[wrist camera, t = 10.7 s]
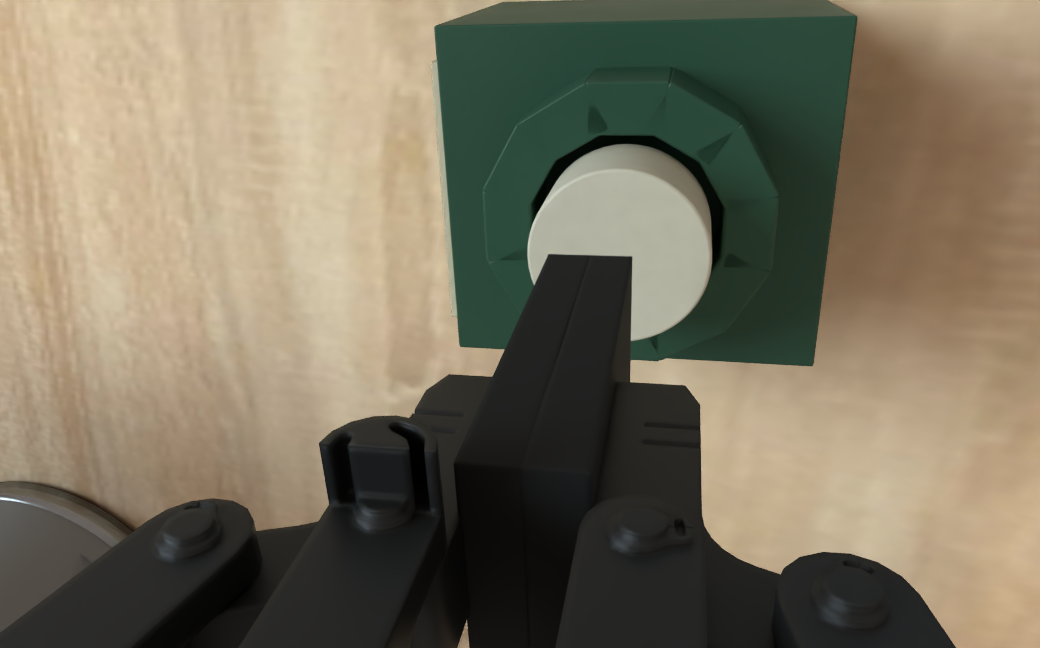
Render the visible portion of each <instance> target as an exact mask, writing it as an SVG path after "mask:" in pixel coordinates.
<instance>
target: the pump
mask: <svg viewBox="0 0 1040 648" xmlns="http://www.w3.org/2000/svg"><path fill="white" fill-rule="evenodd" d="M548 254H565V255H599V256H632V304H631V341H635V340H641V339H645V338H649V337H652V336H655V335H657V334H660V333H662V332H664V331H666V330H668V329H670V328H672V327H673V326H675V325H676V324H677V323H679V322H680V321H682V320H683V319H684V318H685V317H686V316H687V315H688V314H689V313H690V312H691V311H692V310H693V308H694V307H695V306H696V305H697V303H698V302H699V300H700V298H701V297H702V295H703V293H704V291H705V289H706V286H707V284H708V281H709V277H710V274H711V267H712V233H711V215H710V208H709V205H708V201H707V198H706V195H705V193H704V191H703V189H702V187H701V185H700V184H699V182H698V181H697V179H696V178H695V176H694V175H693V174H692V173H691V172H690V171H689V169H687V168H686V167H685V166H684V165H683V164H682V163H681V162H679V161H678V160H676V159H675V158H673V157H672V156H670V155H668V154H666V153H664V152H662V151H660V150H657V149H654V148H652V147H648V146H643V145H636V144H616V145H611V146H606V147H602V148H599V149H596V150H594V151H591V152H589V153H587V154H585V155H583V156H582V157H580V158H579V159H577V160H576V161H575V162H573V163H572V164H571V165H570V166H569V167H568V168H567V169H566V170H565V171H564V172H563V173H562V174H561V175H560V177H559V178H558V180H557V181H556V183H555V184H554V186H553V188H552V189H551V191H550V193H549V194H548V196H547V198H546V200H545V201H544V203H543V205H542V206H541V208H540V210H539V212H538V213H537V216H536V218H535V220H534V222H533V224H532V228H531V231H530V234H529V240H528V251H527V257H528V267H529V271H530V275H531V278H532V281H533V284H534V285H535V283H536V280H537V278H538V276H539V274H540V272H541V269H542V267H543V265H544V263H545V261H546V258H547V256H548Z"/></svg>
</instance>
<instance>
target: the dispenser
mask: <svg viewBox="0 0 1040 648" xmlns="http://www.w3.org/2000/svg"><path fill="white" fill-rule="evenodd" d="M856 25H857V16H855V15H854V14H852V13H850V12H848V11H846V10H844V9H842V8H841V7H839V6H837V5H835V4H833V3H831V2H829V1H828V0H563V1H528V2H502V3H499V4H496V5H493V6H490V7H488V8H485V9H482V10H479V11H476V12H473V13H470V14H468V15H465V16H462V17H459V18H456V19H453V20H450V21H448V22H445V23H442V24H439V25H436V26H435V28H434V29H435V42H436V55H437V67H438V80H439V92H440V105H441V118H442V130H443V143H444V155H445V168H446V180H447V193H448V206H449V218H450V231H451V243H452V256H453V269H454V281H455V294H456V306H457V319H458V332H459V344H460V347H473V348H491V349H506V346H507V344H508V342H509V340H510V338H511V335H512V333H513V331H514V329H515V327H516V324H517V322H518V320H519V318H520V316H521V313H522V311H523V309H524V307H525V305H526V302H527V300H528V298H529V296H530V294H531V291H532V289H533V287H534V284H533V281H532V278H531V275H530V271H529V267H528V257H527V251H528V240H529V234H530V231H531V228H532V224H533V222H534V220H535V218H536V216H537V213H538V212H539V210H540V208H541V206H542V205H543V203H544V201H545V200H546V198H547V196H548V194H549V193H550V191H551V189H552V188H553V186H554V184H555V183H556V181H557V180H558V178H559V177H560V175H561V174H562V173H563V172H564V171H565V170H566V169H567V168H568V167H569V166H570V165H571V164H572V163H573V162H575V161H576V160H577V159H579V158H580V157H582V156H583V155H585V154H587V153H589V152H591V151H594V150H596V149H599V148H602V147H606V146H611V145H616V144H636V145H643V146H648V147H652V148H654V149H657V150H660V151H662V152H664V153H666V154H668V155H670V156H672V157H673V158H675V159H676V160H678V161H679V162H681V163H682V164H683V165H684V166H685V167H686V168H687V169H689V171H690V172H691V173H692V174H693V175H694V176H695V178H696V179H697V181H698V182H699V184H700V185H701V187H702V189H703V191H704V193H705V195H706V198H707V201H708V205H709V208H710V215H711V233H712V267H711V274H710V277H709V281H708V284H707V286H706V289H705V291H704V293H703V295H702V297H701V298H700V300H699V302H698V303H697V305H696V306H695V307H694V308H693V310H692V311H691V312H690V313H689V314H688V315H687V316H686V317H685V318H684V319H683V320H682V321H680V322H679V323H677V324H676V325H675V326H673V327H672V328H670V329H668V330H666V331H664V332H662V333H660V334H657V335H655V336H652V337H649V338H645V339H641V340H635V341H631V354H630V360H647V361H659V360H663V359H665V358H672V359H690V360H708V361H726V362H744V363H762V364H780V365H798V366H813V363H814V356H815V348H816V340H817V332H818V324H819V316H820V308H821V300H822V293H823V285H824V277H825V269H826V261H827V253H828V245H829V238H830V230H831V222H832V214H833V206H834V198H835V190H836V182H837V175H838V167H839V159H840V151H841V143H842V135H843V127H844V120H845V112H846V104H847V96H848V88H849V80H850V72H851V64H852V57H853V49H854V41H855V33H856Z"/></svg>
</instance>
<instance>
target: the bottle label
mask: <svg viewBox="0 0 1040 648" xmlns="http://www.w3.org/2000/svg"><path fill="white" fill-rule="evenodd" d="M431 71H432V83H433V95H434V107H435V119H436V132H437V144H438V156H439V168H440V180H441V192H442V204H443V216H444V228H445V241H446V253H447V265H448V277H449V289H450V301H451V313H452V317H457V306H456V294H455V281H454V269H453V256H452V243H451V231H450V218H449V206H448V193H447V180H446V168H445V155H444V143H443V130H442V118H441V105H440V92H439V80H438V67H437V60H435V61H433V62H431Z"/></svg>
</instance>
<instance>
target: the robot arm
mask: <svg viewBox="0 0 1040 648" xmlns="http://www.w3.org/2000/svg"><path fill="white" fill-rule="evenodd" d="M631 304H632V256H599V255H565V254H548V256H547V258H546V261H545V263H544V265H543V267H542V269H541V272H540V274H539V276H538V278H537V280H536V283H535V285H534V287H533V289H532V291H531V294H530V296H529V298H528V300H527V302H526V305H525V307H524V309H523V311H522V313H521V316H520V318H519V320H518V322H517V324H516V327H515V329H514V331H513V333H512V335H511V338H510V340H509V342H508V344H507V346H506V349H505V351H504V353H503V355H502V357H501V359H500V362H499V364H498V366H497V368H496V370H495V373H494V375H493V377H484V376H467V375H450V374H449V375H448V376H446V377H445V378H443V379H442V380H440V381H439V382H438V383H436V384H435V385H433V386H432V387H430V388H429V389H428V390H426V392H425V393H424V395H423V397H422V398H421V400H420V402H419V403H418V405H417V407H416V409H415V414H412V415H411V417H410V418H406V417H400V416H373V417H369V418H365V419H361V420H357V421H353V422H350V423H348V424H346V425H344V426H342V427H340V428H338V429H336V430H333V431H332V432H331V433H330V434H328V435H327V436H326V437H325V438H324V439H323V440H322V441H321V442H320V443H319V446H320V452H321V458H322V464H323V470H324V476H325V482H326V488H327V494H328V500H329V506H328V507H327V509H326V510H325V512H324V514H323V515H322V517H321V518H320V520H319V521H318V522H314V523H309V524H304V525H300V526H292V527H285V528H277V529H269V530H262V531H256V529H255V525H254V520H253V518H252V516H251V514H250V513H249V511H248V509H247V508H245V507H244V506H242V505H240V504H238V503H236V502H234V501H229V500H221V499H206V500H198V501H191V502H188V503H185V504H182V505H179V506H176V507H173V508H170V509H167V510H165V511H164V512H162V513H160V514H159V515H157V516H155V517H154V518H152V519H150V520H148V521H147V522H145V523H144V524H143V525H141V526H140V527H139V528H138V529H136V530H135V531H134V532H132V531H131V530H130V529H129V528H128V527H126V526H125V525H124V524H122V523H121V522H120V521H118V520H117V519H115V518H114V517H112V516H111V515H109V514H108V513H106V512H105V511H103V510H101V509H99V508H98V507H96V506H94V505H92V504H90V503H88V502H86V501H84V500H82V499H80V498H78V497H75V496H73V495H71V494H68V493H66V492H63V491H60V490H56V489H53V488H50V487H46V486H42V485H37V484H31V483H24V482H0V648H457V647H458V644H459V641H460V638H461V635H462V632H463V629H464V626H465V623H466V620H467V624H468V635H469V646H470V648H956V647H955V646H954V644H953V643H952V641H951V640H950V638H949V637H948V635H947V634H946V632H945V631H944V630H943V628H942V627H941V625H940V624H939V622H938V621H937V619H936V618H935V616H934V615H933V613H932V612H931V610H930V609H929V608H928V606H927V605H926V603H925V602H924V600H923V599H922V597H921V596H920V595H919V594H918V592H917V591H916V590H915V589H914V588H913V587H912V586H911V585H910V584H909V583H908V582H907V581H906V580H905V579H904V578H903V577H902V576H900V575H899V574H897V573H895V572H893V571H892V570H890V569H888V568H886V567H885V566H883V565H881V564H880V563H878V562H875V561H872V560H868V559H865V558H862V557H859V556H855V555H852V554H845V553H830V552H821V553H816V554H812V555H807V556H803V557H799V558H798V559H796V560H795V561H794V562H792V563H791V564H789V565H788V566H786V567H785V568H784V569H783V571H782V573H781V575H780V574H777V573H774V572H771V571H768V570H765V569H762V568H759V567H756V566H754V565H752V564H749V563H747V562H744V561H742V560H740V559H738V558H736V557H734V556H733V555H731V554H730V553H728V552H727V551H725V550H724V549H722V548H721V547H720V546H719V545H718V544H717V543H716V542H715V541H714V540H713V539H712V538H711V536H710V535H709V533H708V532H707V530H706V528H705V527H704V523H703V518H702V501H701V448H700V447H701V435H700V404H699V403H698V402H697V400H696V399H695V398H694V396H693V395H692V394H691V393H690V391H689V390H688V389H687V387H686V386H683V385H666V384H648V383H631V382H630V354H631Z"/></svg>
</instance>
